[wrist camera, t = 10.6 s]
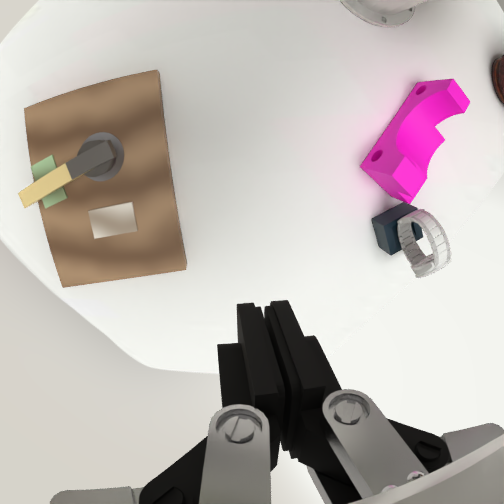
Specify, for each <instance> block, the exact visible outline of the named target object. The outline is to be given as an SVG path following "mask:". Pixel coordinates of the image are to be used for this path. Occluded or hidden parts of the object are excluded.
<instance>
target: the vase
mask: <svg viewBox="0 0 504 504" xmlns="http://www.w3.org/2000/svg"><path fill="white" fill-rule="evenodd" d="M492 80H493V85H494V88H495V91H496V94H497V96H498V98H499V99H500V101H501V102H502V103H503V104H504V55H503V56H502V58H497V59H496V60H495V61H494V63H493V66H492Z"/></svg>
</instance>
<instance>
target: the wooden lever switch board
mask: <svg viewBox="0 0 504 504" xmlns="http://www.w3.org/2000/svg"><path fill="white" fill-rule="evenodd" d="M24 113H25V124H26V133H27V141H28V148H29V155H30V162H31V169H32V174H33V179H34V182H36V181H37V180H39V179H40V178H42V177H43V176H45V175H47V174H48V173H50V172H51V171H53V170H55V169H56V168H58V167H60V166H61V165H63V164H65V163H66V162H68V161H70V160H71V159H73V158H75V157H77V154H78V151H79V149H80V148H81V147H82V146H83V145H84V144H85V143H87V142H89V141H94V140H105V141H106V140H111V142H112V145H113V147H114V148H115V151H116V155H117V157H116V161H115V164H114V166H113V167H112V169H111V170H109V171H108V172H106V173H104V174H102V175H100V176H97V177H88V176H85V175H82V176H81V177H79V178H77V179H75V180H73V181H72V182H70V183H68V184H66V185H65V186H63V187H61V188H59V189H58V190H56V191H54V192H53V193H51V194H49V195H48V196H46V197H44V198H43V199H41V200H39V201H38V203H39V208H40V212H41V216H42V220H43V224H44V228H45V232H46V236H47V239H48V243H49V246H50V250H51V253H52V256H53V260H54V263H55V266H56V269H57V272H58V275H59V278H60V281H61V284H62V287H63V288H64V287H71V286H78V285H85V284H92V283H99V282H106V281H113V280H120V279H127V278H134V277H141V276H148V275H155V274H161V273H168V272H175V271H182V270H186V266H187V261H186V256H185V251H184V246H183V240H182V235H181V229H180V223H179V217H178V212H177V206H176V199H175V193H174V187H173V180H172V174H171V167H170V160H169V152H168V145H167V137H166V129H165V121H164V113H163V104H162V94H161V84H160V74H159V72H158V71H157V70H152V71H147V72H142V73H138V74H133V75H129V76H124V77H120V78H116V79H112V80H108V81H105V82H101V83H97V84H94V85H90V86H87V87H83V88H80V89H77V90H74V91H71V92H68V93H65V94H62V95H59V96H56V97H53V98H50V99H47V100H45V101H42V102H39V103H37V104H34V105H32V106H29V107H27V108H24Z"/></svg>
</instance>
